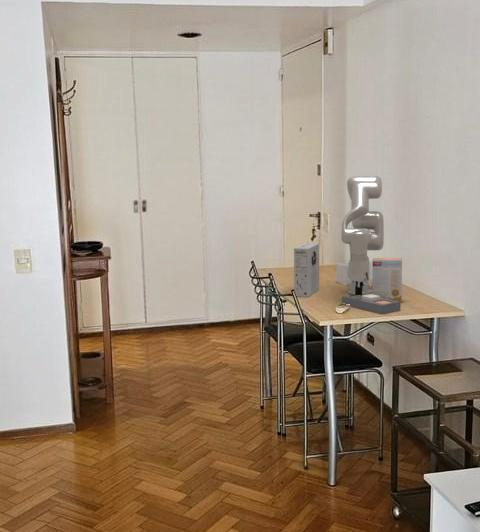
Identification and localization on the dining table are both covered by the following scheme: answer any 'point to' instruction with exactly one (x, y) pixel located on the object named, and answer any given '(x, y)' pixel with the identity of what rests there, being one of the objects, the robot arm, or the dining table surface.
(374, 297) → the middle key
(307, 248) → the cereal box
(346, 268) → the storage container
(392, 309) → the key panel
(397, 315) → the dining table surface
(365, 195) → the robot arm
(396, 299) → the cracker box
